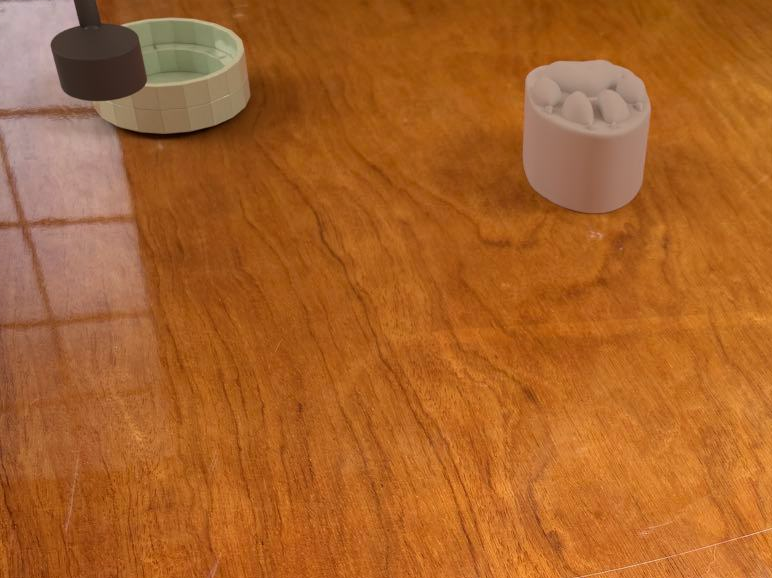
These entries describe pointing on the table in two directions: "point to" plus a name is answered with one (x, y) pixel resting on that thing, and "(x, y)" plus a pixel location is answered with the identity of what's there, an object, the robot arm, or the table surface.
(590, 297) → the table surface
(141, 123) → the bowl
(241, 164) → the table surface
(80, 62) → the ladle
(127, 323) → the table surface
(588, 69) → the lumpy-topped squat cylinder
